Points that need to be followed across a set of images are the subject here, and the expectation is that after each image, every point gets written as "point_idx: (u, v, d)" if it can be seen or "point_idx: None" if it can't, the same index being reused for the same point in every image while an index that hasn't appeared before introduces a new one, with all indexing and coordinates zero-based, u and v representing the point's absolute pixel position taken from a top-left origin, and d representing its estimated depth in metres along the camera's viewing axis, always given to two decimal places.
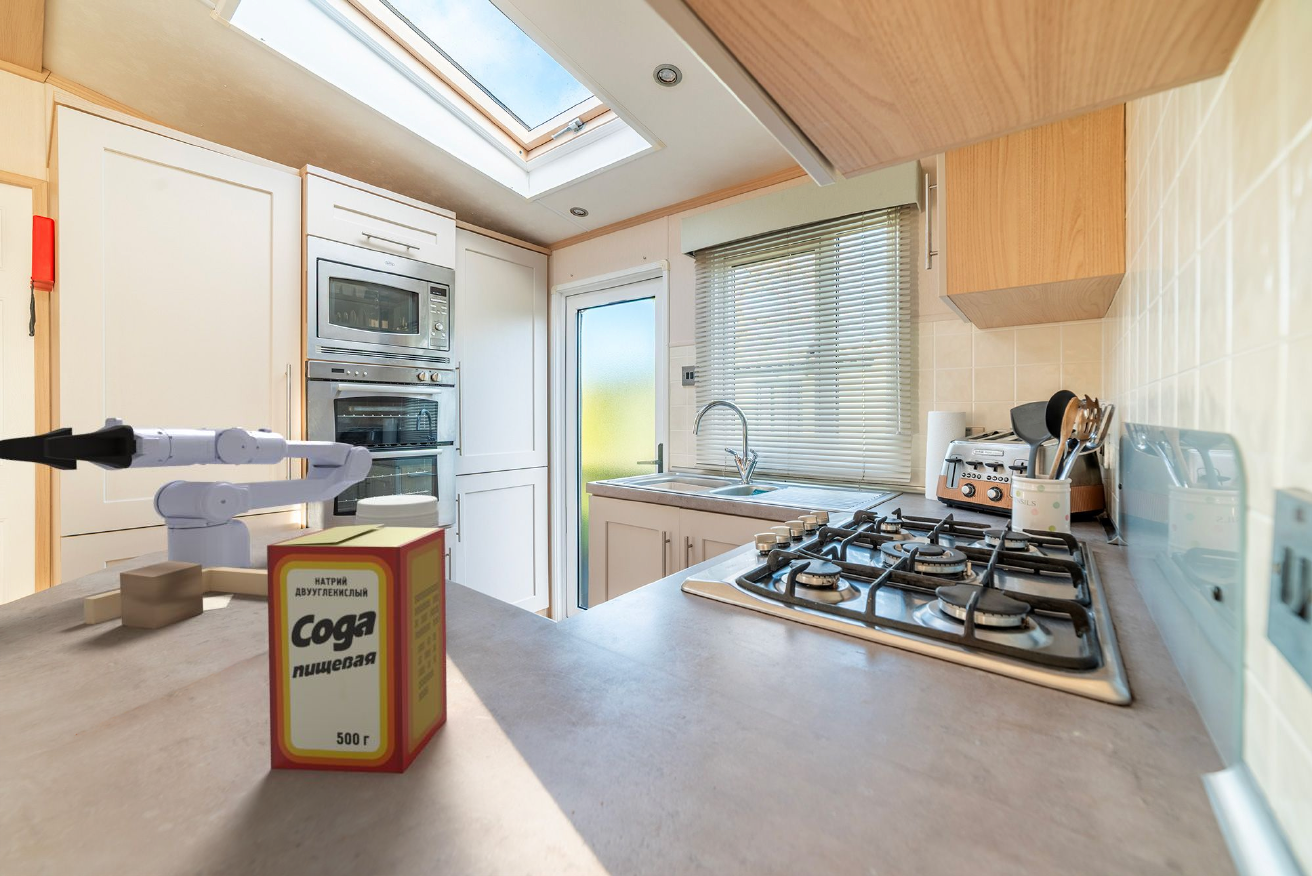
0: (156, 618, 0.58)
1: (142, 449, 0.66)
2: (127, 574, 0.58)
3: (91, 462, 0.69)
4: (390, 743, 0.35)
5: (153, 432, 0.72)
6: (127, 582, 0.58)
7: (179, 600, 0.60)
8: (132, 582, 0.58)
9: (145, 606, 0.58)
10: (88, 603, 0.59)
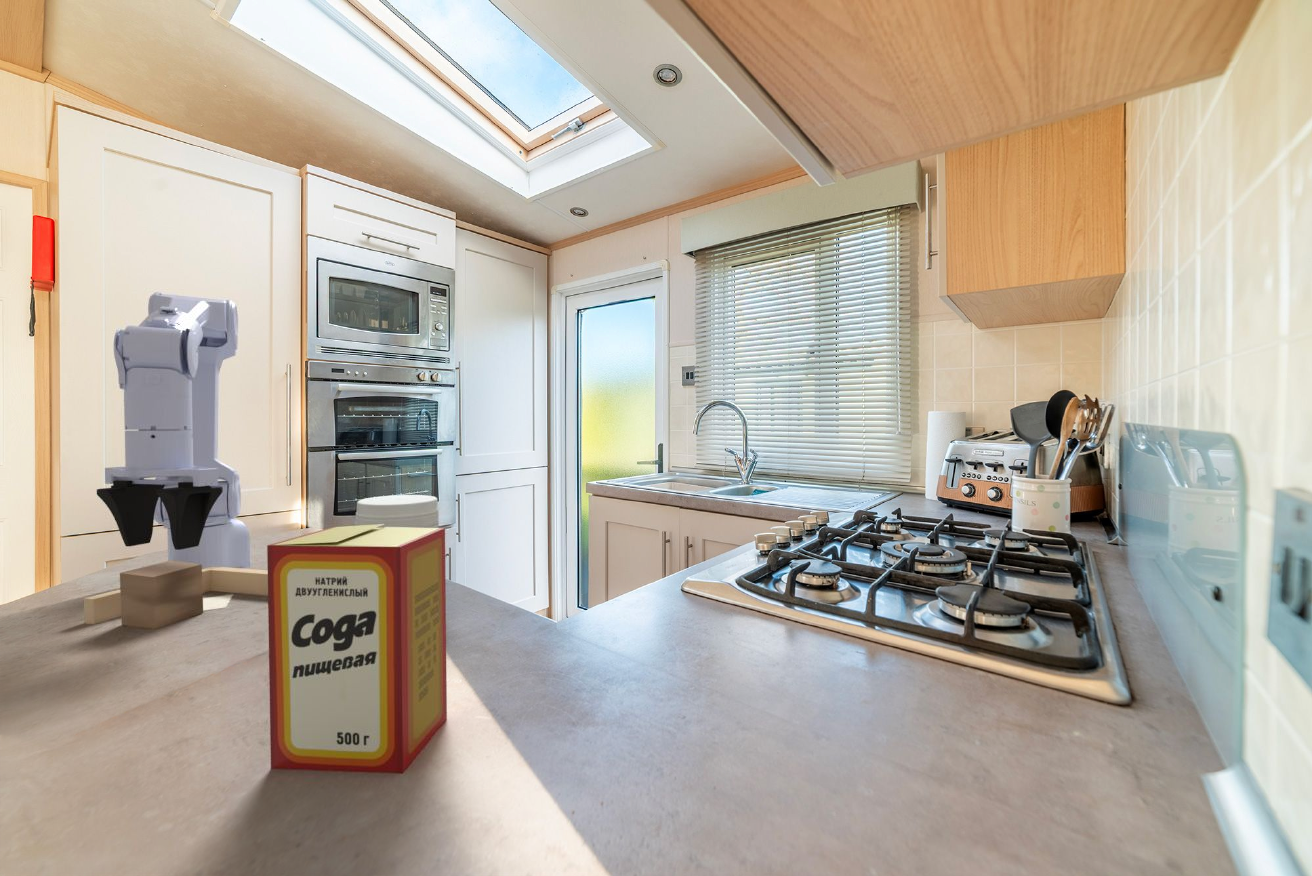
0: (156, 618, 0.58)
1: (212, 484, 0.59)
2: (127, 574, 0.58)
3: None
4: (390, 742, 0.35)
5: (151, 443, 0.58)
6: (127, 582, 0.58)
7: (179, 600, 0.60)
8: (132, 582, 0.58)
9: (145, 606, 0.58)
10: (88, 603, 0.59)
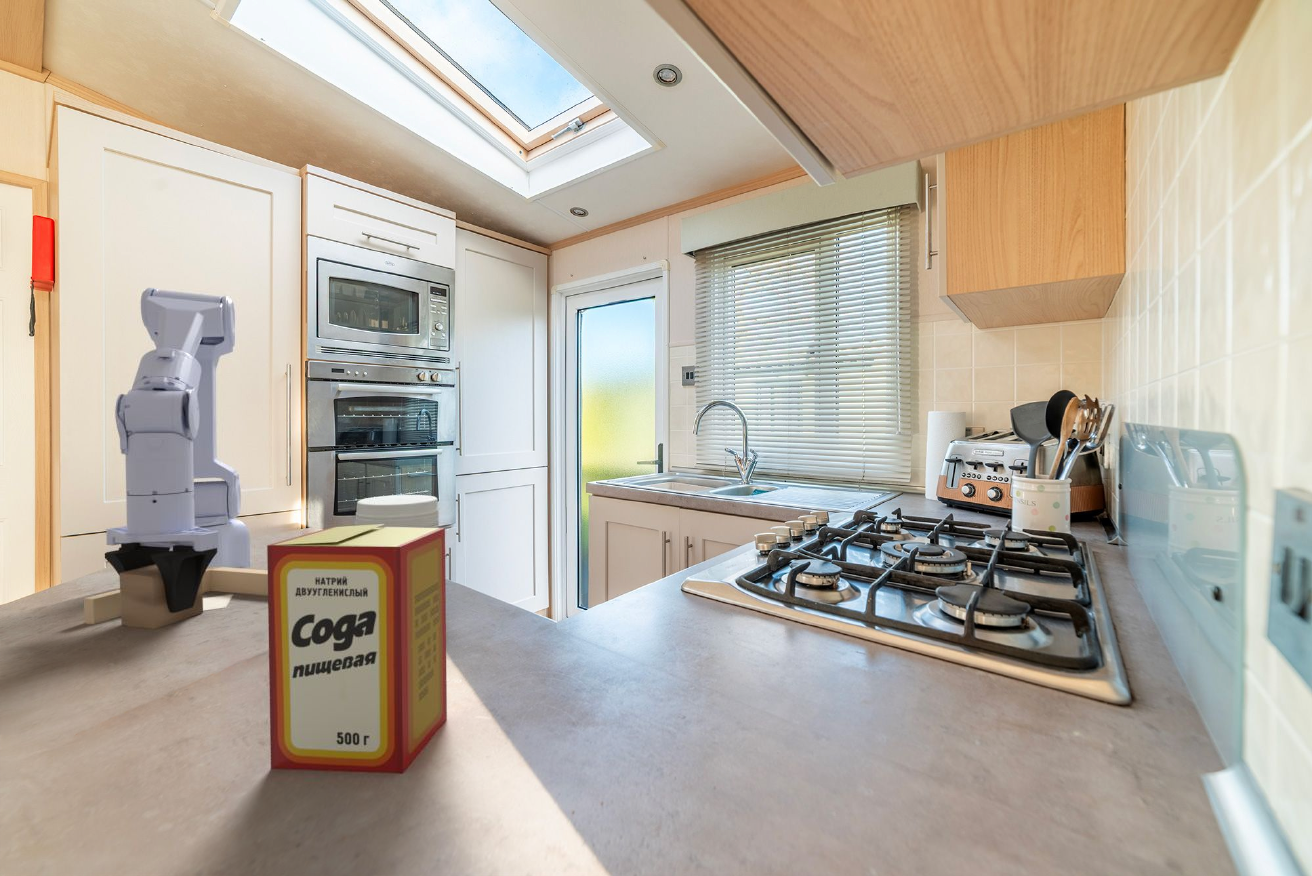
0: (155, 618, 0.58)
1: (213, 548, 0.59)
2: (127, 574, 0.58)
3: None
4: (390, 742, 0.35)
5: (153, 508, 0.58)
6: (127, 582, 0.58)
7: None
8: (132, 582, 0.58)
9: (145, 606, 0.58)
10: (88, 603, 0.59)
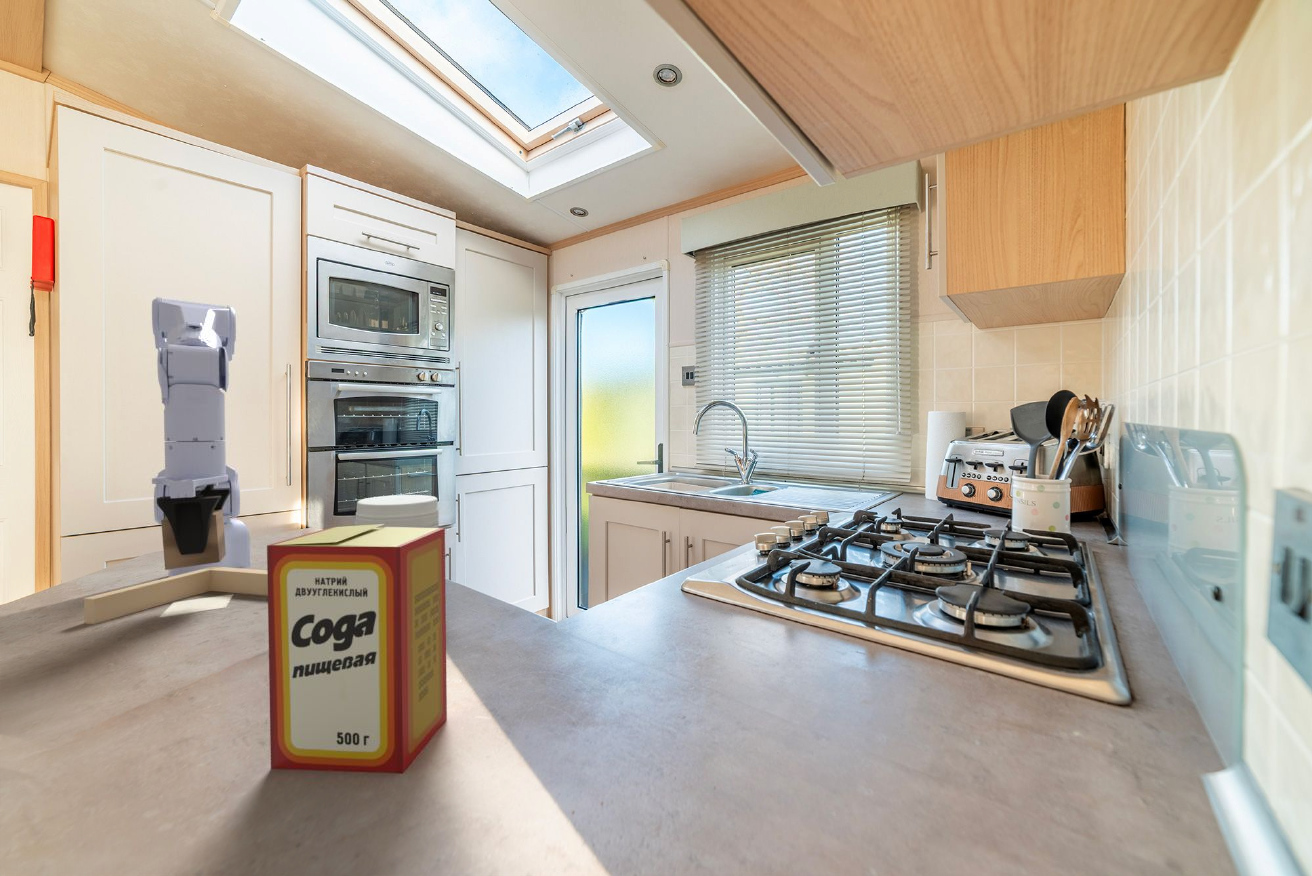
0: (166, 559, 0.61)
1: (187, 497, 0.59)
2: None
3: None
4: (390, 743, 0.35)
5: (170, 454, 0.62)
6: None
7: None
8: None
9: None
10: (88, 603, 0.59)
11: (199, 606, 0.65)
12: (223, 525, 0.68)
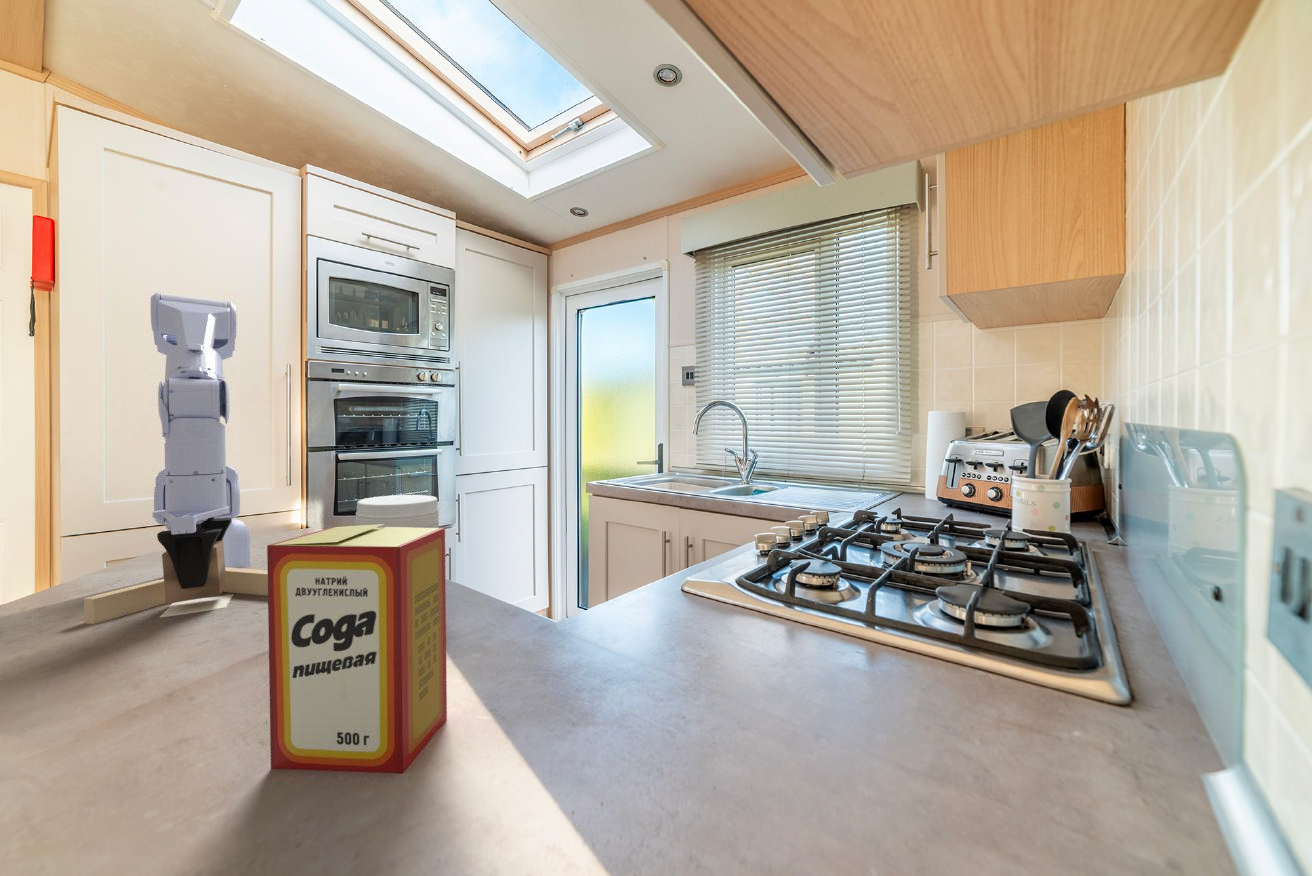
0: (166, 593, 0.62)
1: (187, 532, 0.59)
2: None
3: None
4: (390, 742, 0.35)
5: (170, 487, 0.62)
6: None
7: None
8: None
9: None
10: (88, 603, 0.59)
11: (199, 606, 0.65)
12: None
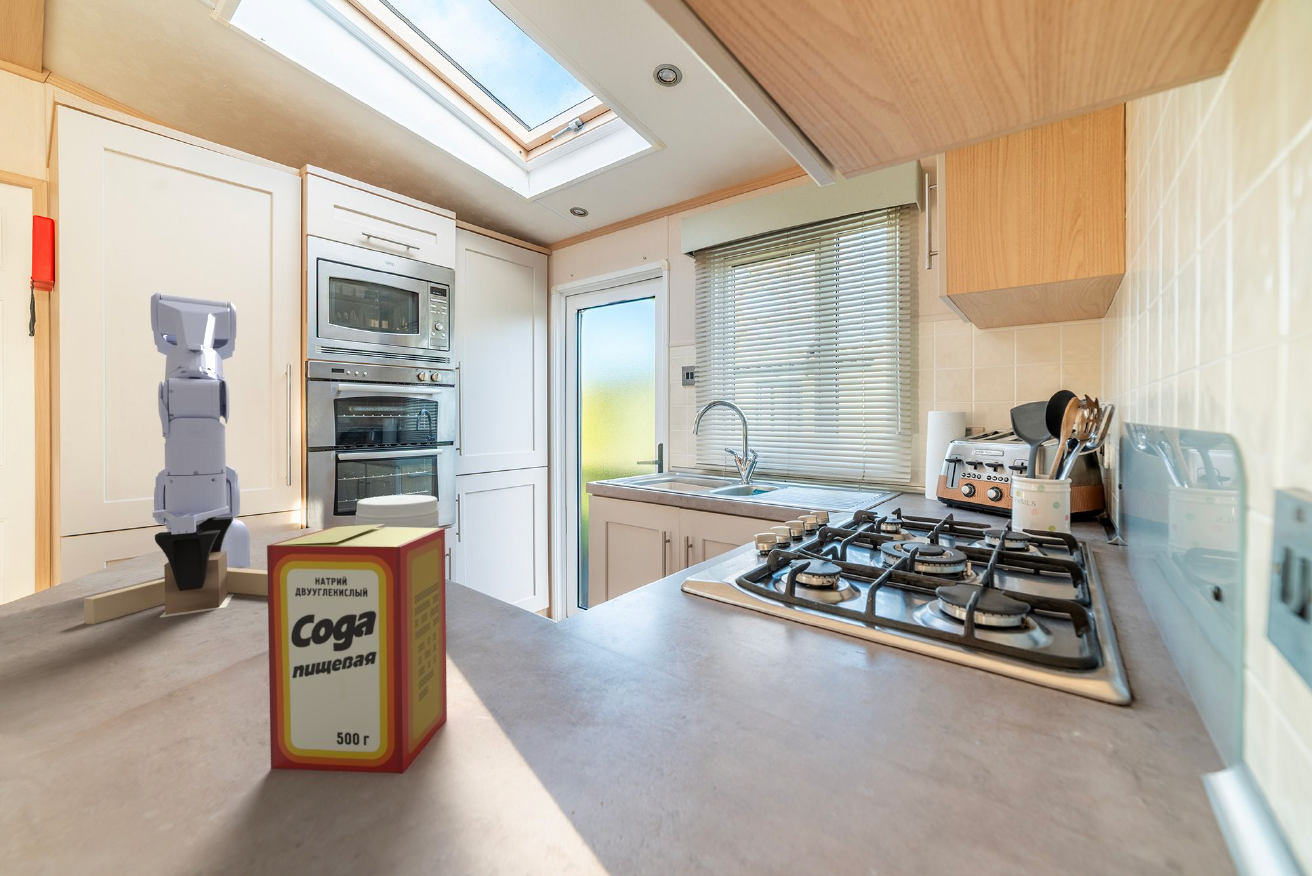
0: (166, 603, 0.62)
1: (187, 532, 0.59)
2: None
3: None
4: (390, 742, 0.35)
5: (170, 487, 0.62)
6: None
7: (192, 591, 0.63)
8: None
9: None
10: (88, 603, 0.59)
11: None
12: (226, 567, 0.68)
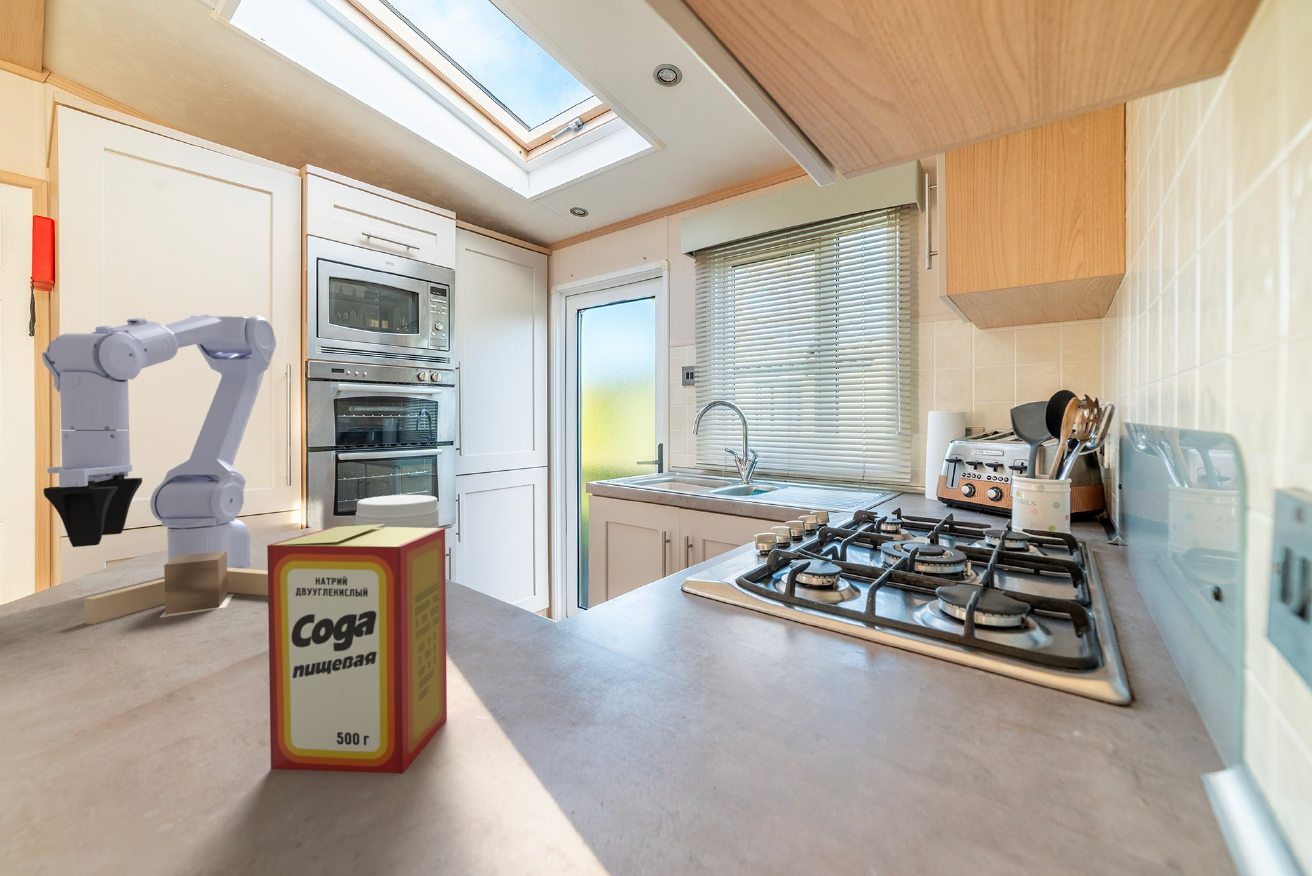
0: (166, 603, 0.62)
1: (77, 486, 0.58)
2: (173, 558, 0.65)
3: None
4: (390, 742, 0.35)
5: (65, 442, 0.61)
6: None
7: (192, 591, 0.63)
8: None
9: None
10: (88, 603, 0.59)
11: None
12: (226, 567, 0.68)
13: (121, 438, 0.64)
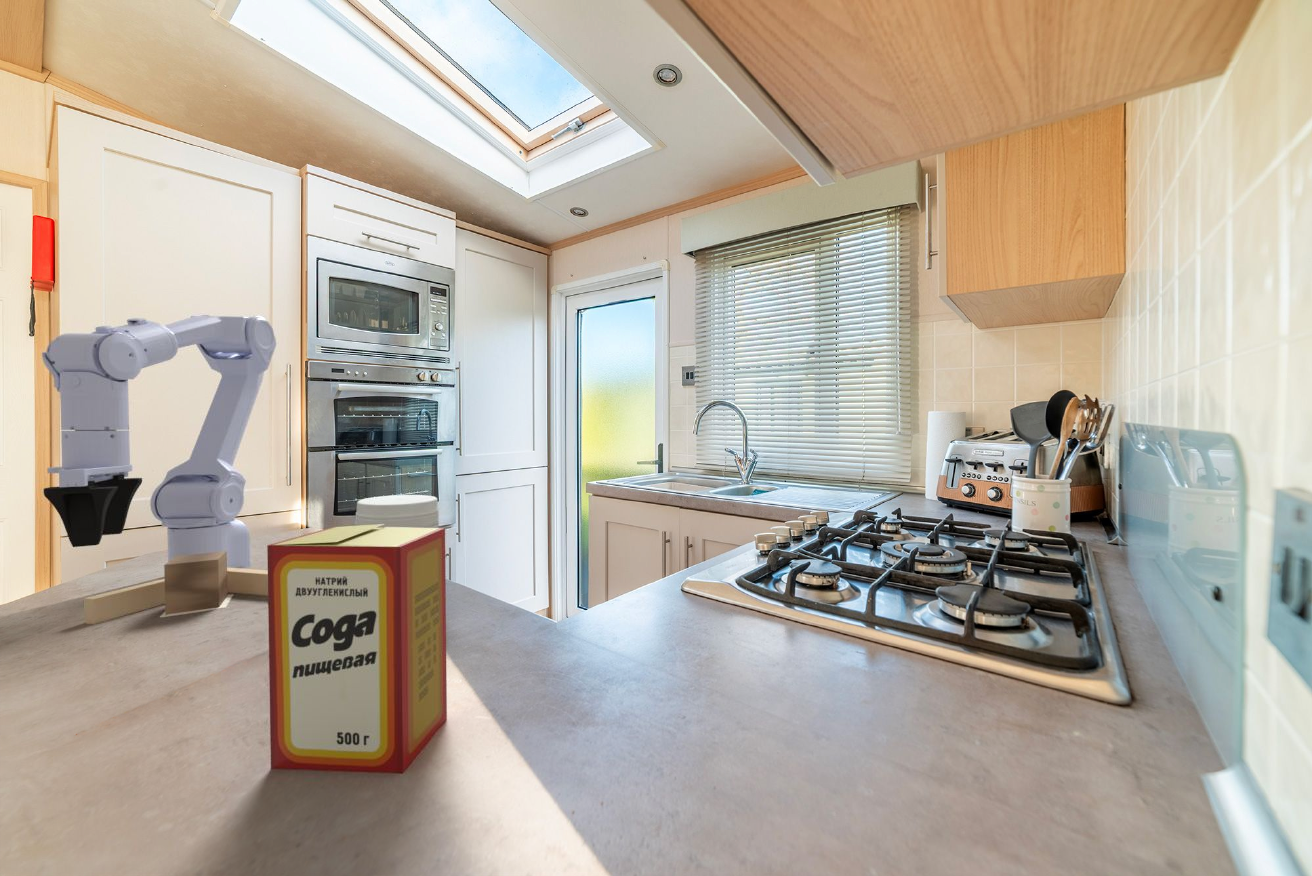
0: (166, 603, 0.62)
1: (77, 486, 0.58)
2: (173, 558, 0.65)
3: None
4: (390, 742, 0.35)
5: (65, 442, 0.61)
6: None
7: (192, 591, 0.63)
8: None
9: None
10: (88, 603, 0.59)
11: None
12: (226, 567, 0.68)
13: (121, 438, 0.64)
